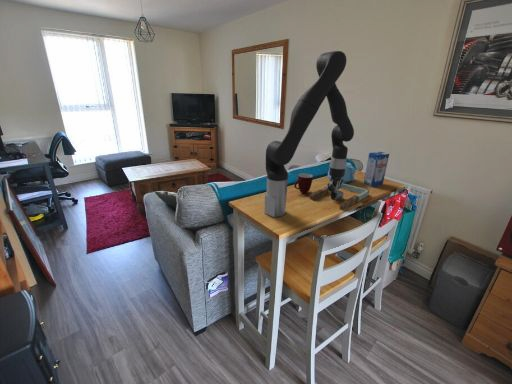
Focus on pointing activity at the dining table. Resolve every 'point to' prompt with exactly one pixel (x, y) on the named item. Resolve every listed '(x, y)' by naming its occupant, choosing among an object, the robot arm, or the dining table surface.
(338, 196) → the chip puck
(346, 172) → the decorative pot
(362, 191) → the corral
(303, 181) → the mug
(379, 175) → the milk carton
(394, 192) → the dining table surface
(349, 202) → the slot rails
